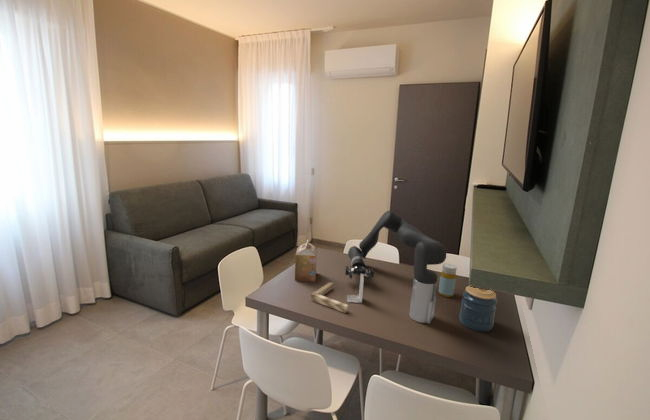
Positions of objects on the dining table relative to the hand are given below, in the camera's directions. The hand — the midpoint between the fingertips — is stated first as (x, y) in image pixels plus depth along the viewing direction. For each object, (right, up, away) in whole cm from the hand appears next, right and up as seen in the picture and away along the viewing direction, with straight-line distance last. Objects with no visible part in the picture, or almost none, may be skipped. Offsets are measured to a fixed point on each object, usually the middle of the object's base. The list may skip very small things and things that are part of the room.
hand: (360, 277), depth 151 cm
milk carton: (-28, -3, +15) cm, 31 cm away
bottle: (+42, -9, +2) cm, 43 cm away
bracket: (-4, -9, -8) cm, 12 cm away
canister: (+45, -14, -22) cm, 52 cm away
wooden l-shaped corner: (-12, -8, -8) cm, 16 cm away
